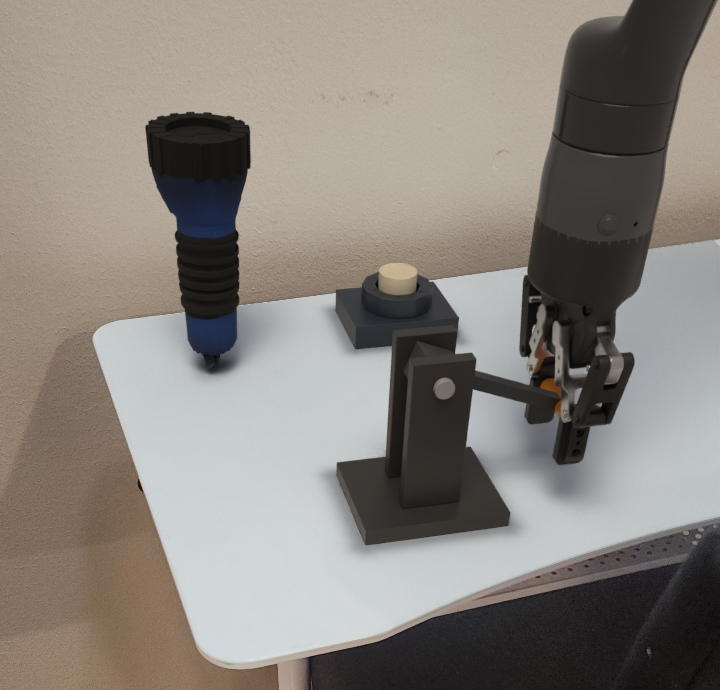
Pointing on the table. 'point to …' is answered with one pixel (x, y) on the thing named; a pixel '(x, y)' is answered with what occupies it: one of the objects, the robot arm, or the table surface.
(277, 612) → the table surface
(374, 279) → the block
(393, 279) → the power button
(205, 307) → the flashlight
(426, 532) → the lever pivot stand
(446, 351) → the lever with orange handle
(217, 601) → the table surface
